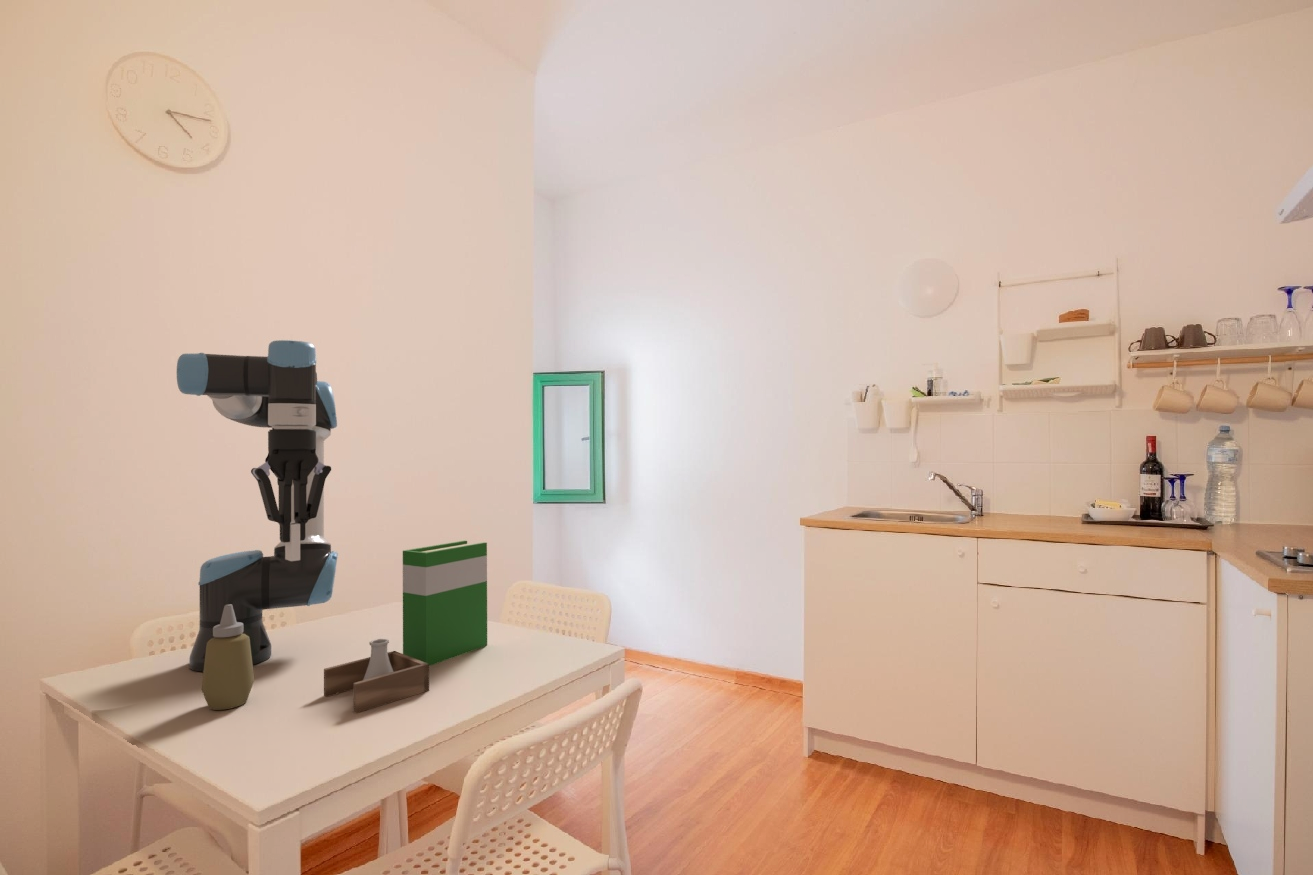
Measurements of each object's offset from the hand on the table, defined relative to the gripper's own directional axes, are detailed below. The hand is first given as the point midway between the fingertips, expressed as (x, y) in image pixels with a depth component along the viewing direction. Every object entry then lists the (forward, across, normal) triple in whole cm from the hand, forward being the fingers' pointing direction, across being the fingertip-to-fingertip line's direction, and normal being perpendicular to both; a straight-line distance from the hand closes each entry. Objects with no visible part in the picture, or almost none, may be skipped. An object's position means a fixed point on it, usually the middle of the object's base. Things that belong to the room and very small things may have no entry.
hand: (292, 559), depth 119 cm
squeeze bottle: (+27, -7, +10) cm, 30 cm away
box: (+26, +13, -6) cm, 30 cm away
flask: (+27, +13, -7) cm, 30 cm away
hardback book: (+27, +35, +6) cm, 45 cm away
